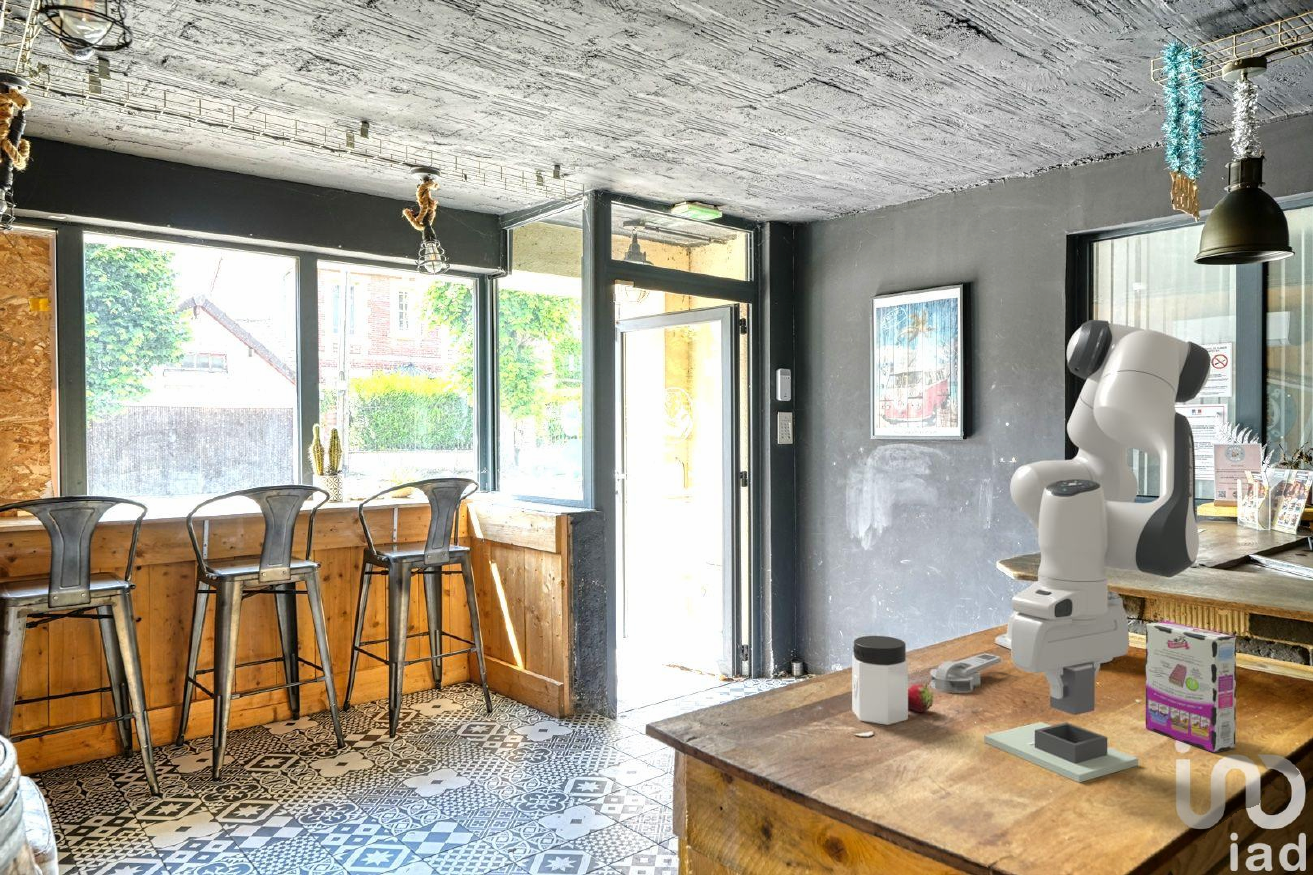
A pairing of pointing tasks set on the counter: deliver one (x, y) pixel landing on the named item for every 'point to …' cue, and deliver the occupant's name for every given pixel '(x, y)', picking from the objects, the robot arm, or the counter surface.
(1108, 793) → the counter surface
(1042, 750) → the header board
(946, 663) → the zipper pull
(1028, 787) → the counter surface
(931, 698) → the fruit
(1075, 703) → the plug
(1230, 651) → the candy bar box
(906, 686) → the jar
